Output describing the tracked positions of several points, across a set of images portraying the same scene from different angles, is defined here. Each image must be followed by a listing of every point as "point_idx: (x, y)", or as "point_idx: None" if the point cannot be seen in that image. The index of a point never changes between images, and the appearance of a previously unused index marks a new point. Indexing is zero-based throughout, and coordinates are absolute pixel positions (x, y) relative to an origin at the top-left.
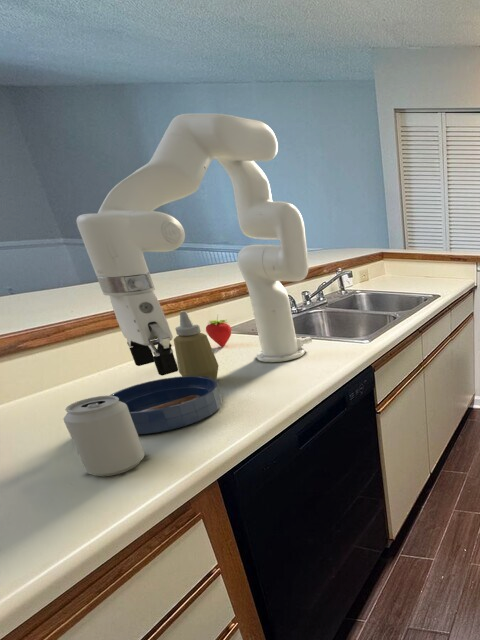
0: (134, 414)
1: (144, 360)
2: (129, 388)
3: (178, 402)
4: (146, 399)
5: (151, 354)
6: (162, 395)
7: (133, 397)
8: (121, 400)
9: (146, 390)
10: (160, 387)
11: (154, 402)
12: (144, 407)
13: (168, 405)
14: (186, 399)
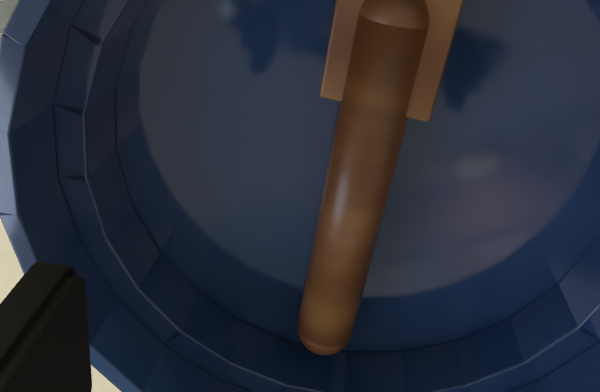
0: None
1: (65, 376)
2: (37, 251)
3: (399, 131)
4: (100, 143)
5: (31, 353)
6: (112, 56)
7: (72, 209)
8: (97, 279)
9: (44, 136)
10: (54, 53)
11: (117, 97)
12: (152, 168)
13: (384, 189)
14: (409, 77)
